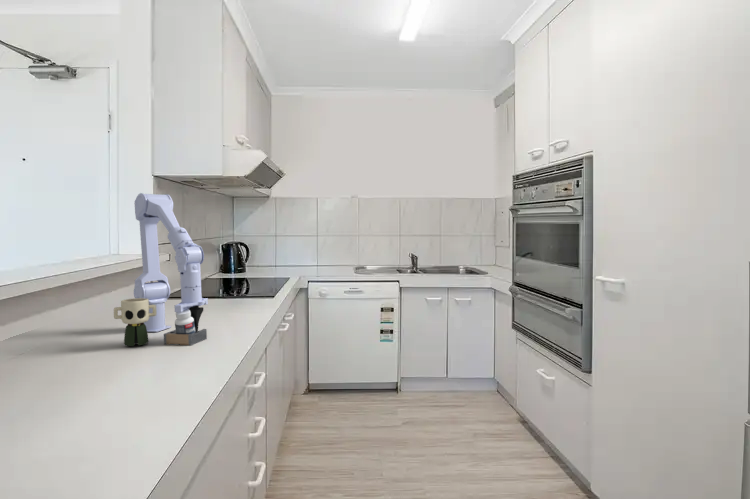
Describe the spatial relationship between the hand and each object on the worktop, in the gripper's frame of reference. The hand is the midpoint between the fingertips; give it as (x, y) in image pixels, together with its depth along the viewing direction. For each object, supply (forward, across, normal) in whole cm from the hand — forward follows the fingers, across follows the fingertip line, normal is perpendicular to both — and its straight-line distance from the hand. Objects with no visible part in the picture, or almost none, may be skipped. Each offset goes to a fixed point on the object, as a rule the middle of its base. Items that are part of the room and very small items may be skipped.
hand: (193, 332), depth 148 cm
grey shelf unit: (+2, -3, +1) cm, 4 cm away
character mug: (+2, -10, +12) cm, 16 cm away
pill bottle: (+2, -2, 0) cm, 3 cm away
